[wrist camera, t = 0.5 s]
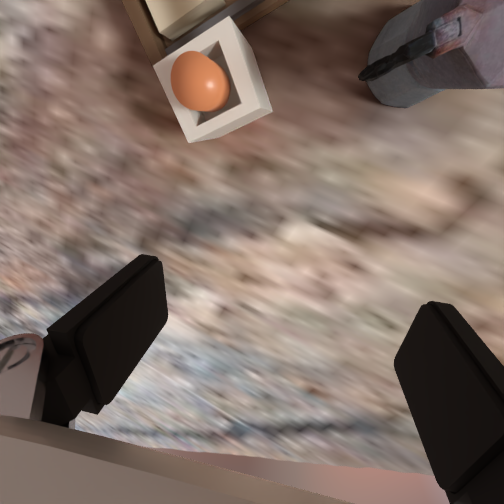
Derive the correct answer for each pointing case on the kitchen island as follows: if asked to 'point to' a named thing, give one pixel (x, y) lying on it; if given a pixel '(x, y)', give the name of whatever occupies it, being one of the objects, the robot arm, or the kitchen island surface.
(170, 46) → the rail bed
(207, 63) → the brown egg
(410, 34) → the moka pot
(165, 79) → the white knob block
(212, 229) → the kitchen island surface
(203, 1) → the square knob plate
